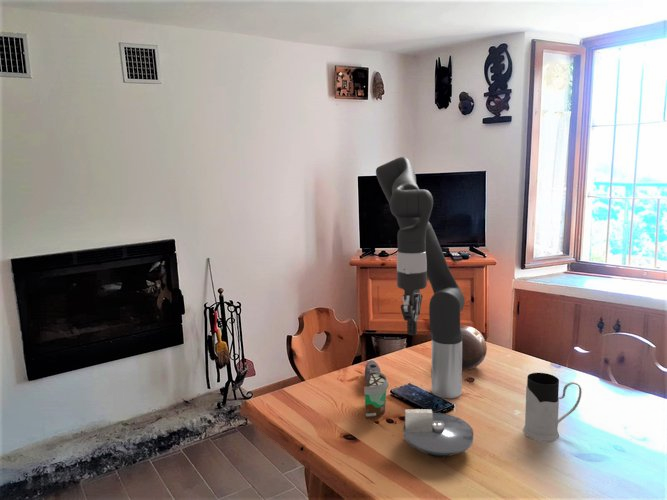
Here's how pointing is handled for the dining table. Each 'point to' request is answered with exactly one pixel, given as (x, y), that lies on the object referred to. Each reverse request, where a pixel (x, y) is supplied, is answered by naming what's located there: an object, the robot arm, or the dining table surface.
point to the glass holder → (544, 406)
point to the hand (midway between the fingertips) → (412, 334)
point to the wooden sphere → (472, 347)
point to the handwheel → (436, 432)
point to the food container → (375, 395)
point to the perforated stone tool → (371, 369)
